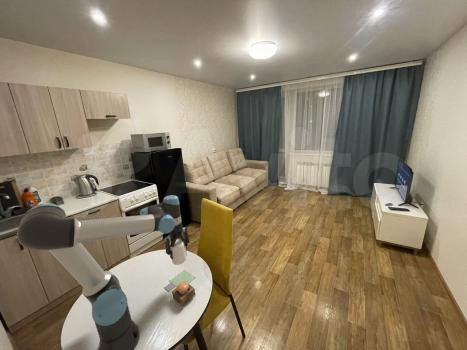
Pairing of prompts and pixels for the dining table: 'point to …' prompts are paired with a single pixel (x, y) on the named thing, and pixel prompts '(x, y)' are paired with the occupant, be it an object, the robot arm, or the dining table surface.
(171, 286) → the pad
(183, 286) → the plunger
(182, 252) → the beverage can
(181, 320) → the dining table surface
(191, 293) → the housing
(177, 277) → the pad
